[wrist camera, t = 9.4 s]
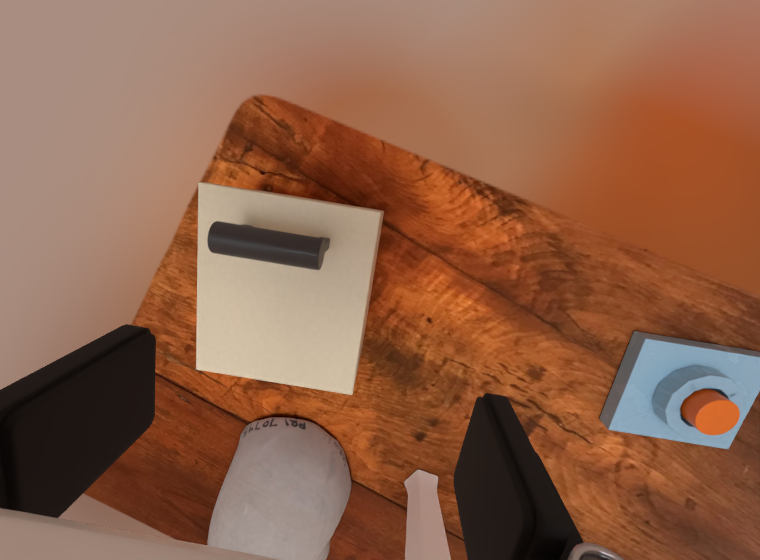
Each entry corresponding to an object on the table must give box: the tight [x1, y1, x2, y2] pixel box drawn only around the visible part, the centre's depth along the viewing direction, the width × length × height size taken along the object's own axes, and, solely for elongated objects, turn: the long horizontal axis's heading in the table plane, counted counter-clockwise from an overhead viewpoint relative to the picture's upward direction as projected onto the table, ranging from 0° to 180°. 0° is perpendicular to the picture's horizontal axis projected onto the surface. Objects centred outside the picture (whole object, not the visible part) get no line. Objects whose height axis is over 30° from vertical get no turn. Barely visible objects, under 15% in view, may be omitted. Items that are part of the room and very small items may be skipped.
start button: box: [680, 389, 740, 435], centre depth 31 cm, size 4×4×2 cm
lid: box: [196, 182, 381, 395], centre depth 22 cm, size 13×12×5 cm
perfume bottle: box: [404, 470, 451, 560], centre depth 33 cm, size 5×4×15 cm
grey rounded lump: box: [208, 417, 351, 560], centre depth 37 cm, size 15×14×15 cm
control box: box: [599, 331, 760, 449], centre depth 34 cm, size 10×12×4 cm
